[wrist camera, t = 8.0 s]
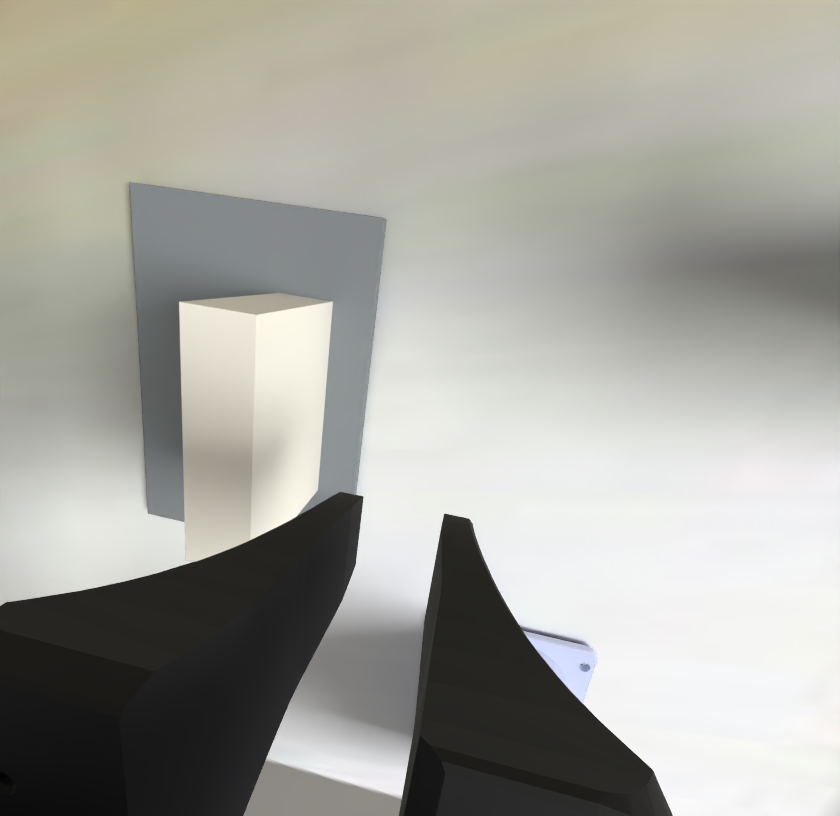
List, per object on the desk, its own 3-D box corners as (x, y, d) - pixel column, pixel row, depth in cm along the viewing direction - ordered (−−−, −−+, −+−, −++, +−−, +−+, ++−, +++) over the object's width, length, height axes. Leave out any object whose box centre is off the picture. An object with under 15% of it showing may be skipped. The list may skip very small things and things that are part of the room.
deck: (317, 490, 22) (249, 574, 15) (270, 480, 22) (184, 559, 16) (332, 301, 19) (256, 314, 13) (278, 292, 19) (177, 301, 13)
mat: (349, 553, 23) (346, 558, 22) (153, 509, 24) (148, 513, 24) (386, 219, 18) (384, 218, 17) (137, 184, 19) (129, 182, 19)
